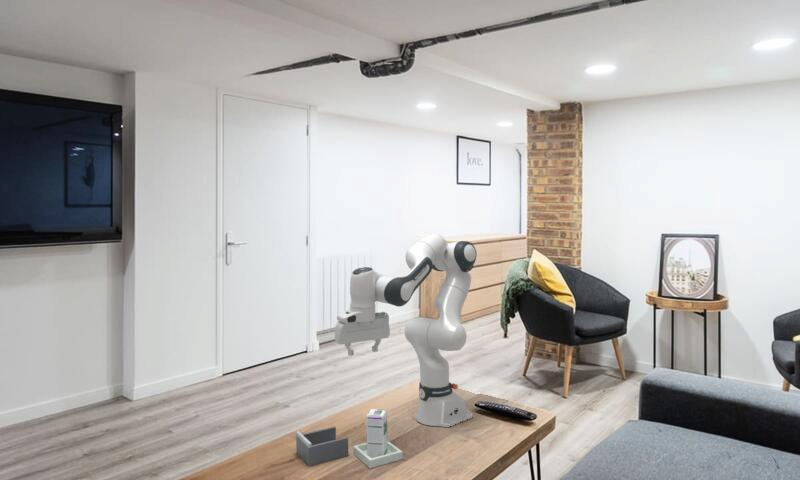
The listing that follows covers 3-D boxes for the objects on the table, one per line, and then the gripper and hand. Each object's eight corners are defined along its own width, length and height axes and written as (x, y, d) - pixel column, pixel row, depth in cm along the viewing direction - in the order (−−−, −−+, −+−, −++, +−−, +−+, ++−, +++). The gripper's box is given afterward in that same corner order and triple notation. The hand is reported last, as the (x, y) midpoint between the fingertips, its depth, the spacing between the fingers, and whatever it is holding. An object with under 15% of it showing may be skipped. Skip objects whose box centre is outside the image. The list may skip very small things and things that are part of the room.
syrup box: (384, 459, 179) (383, 416, 178) (366, 458, 180) (366, 414, 179) (387, 451, 185) (387, 409, 184) (370, 450, 186) (370, 408, 185)
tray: (384, 445, 191) (384, 438, 191) (402, 459, 181) (402, 451, 180) (353, 453, 185) (353, 446, 185) (370, 468, 174) (370, 460, 174)
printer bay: (334, 443, 193) (334, 423, 192) (348, 455, 183) (348, 434, 183) (296, 452, 185) (296, 431, 185) (308, 466, 176) (308, 444, 176)
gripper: (384, 309, 200) (384, 347, 201) (332, 315, 190) (332, 355, 191) (393, 312, 195) (393, 351, 196) (340, 319, 185) (340, 359, 186)
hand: (363, 353), depth 193 cm, fingers open, 8 cm apart
